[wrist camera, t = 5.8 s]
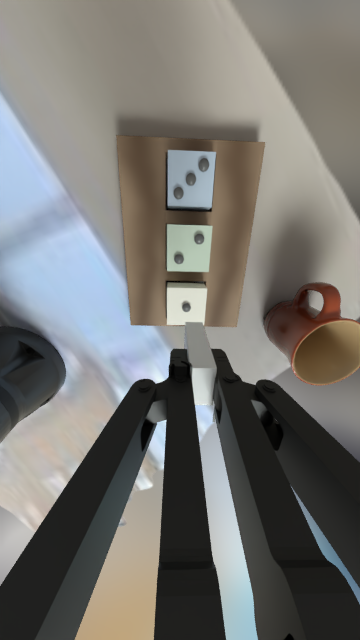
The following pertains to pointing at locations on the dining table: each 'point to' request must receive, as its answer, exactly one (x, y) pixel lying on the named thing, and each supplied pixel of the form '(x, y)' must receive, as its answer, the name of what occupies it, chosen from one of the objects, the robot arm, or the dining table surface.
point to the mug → (315, 336)
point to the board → (152, 217)
